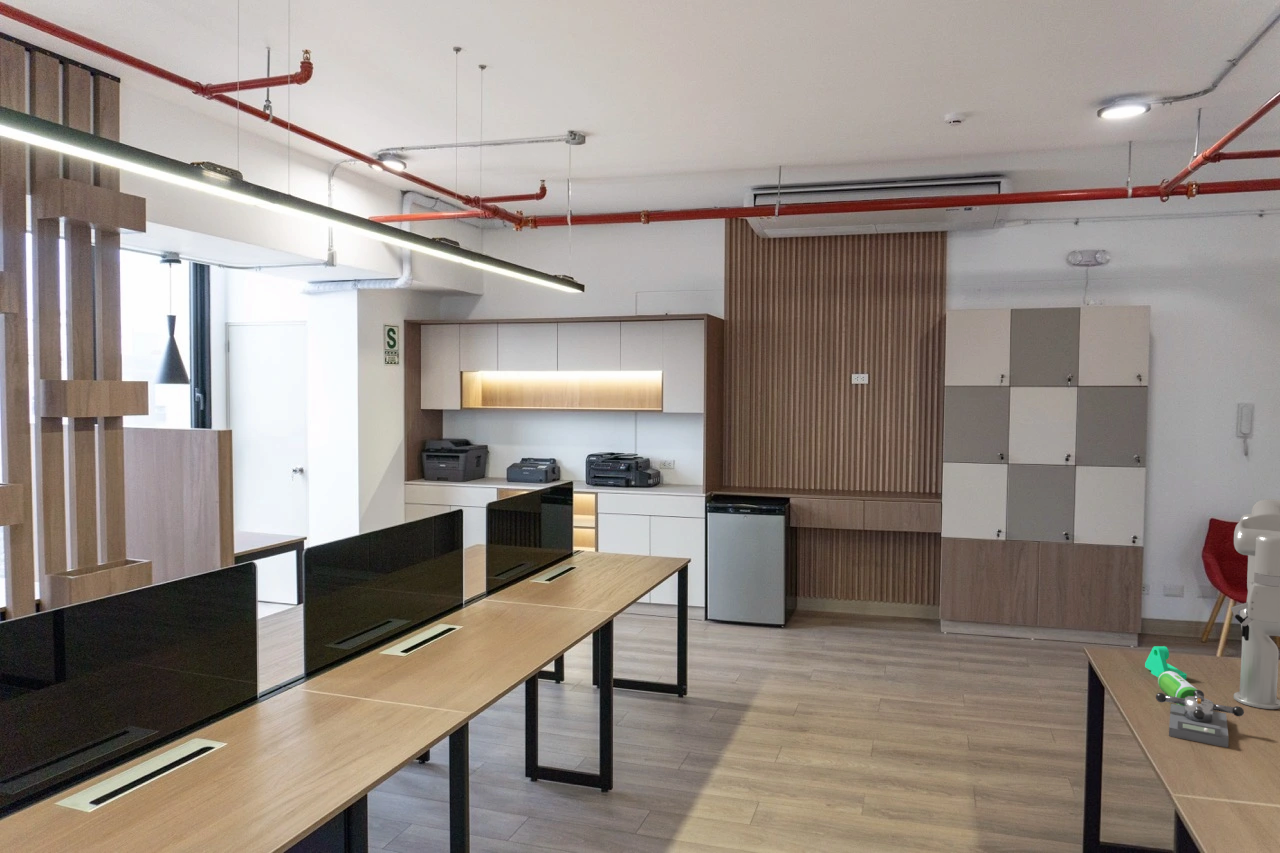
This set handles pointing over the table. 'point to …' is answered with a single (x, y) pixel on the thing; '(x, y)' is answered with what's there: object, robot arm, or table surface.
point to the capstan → (1199, 706)
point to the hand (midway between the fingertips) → (1267, 642)
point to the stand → (1198, 727)
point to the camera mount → (1161, 662)
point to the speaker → (1175, 685)
